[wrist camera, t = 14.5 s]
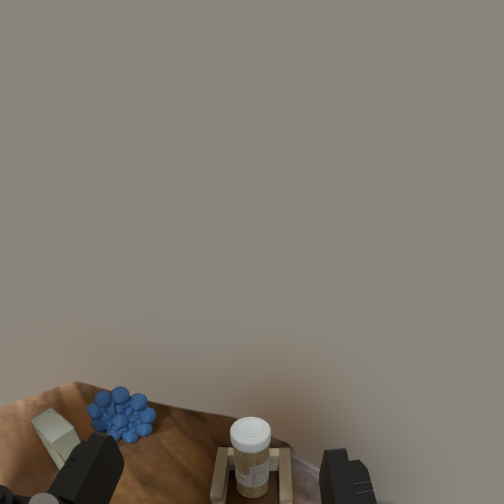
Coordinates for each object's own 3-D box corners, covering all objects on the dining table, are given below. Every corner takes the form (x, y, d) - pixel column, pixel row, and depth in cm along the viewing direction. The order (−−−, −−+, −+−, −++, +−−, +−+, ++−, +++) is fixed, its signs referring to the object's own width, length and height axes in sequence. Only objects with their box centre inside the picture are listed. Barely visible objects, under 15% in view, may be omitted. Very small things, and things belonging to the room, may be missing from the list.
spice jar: (231, 481, 35) (223, 422, 32) (260, 471, 37) (259, 410, 33) (245, 503, 31) (240, 448, 28) (275, 492, 33) (278, 434, 29)
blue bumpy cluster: (165, 423, 47) (151, 370, 44) (164, 452, 40) (147, 398, 37) (103, 423, 45) (83, 370, 42) (96, 449, 38) (71, 396, 35)
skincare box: (60, 472, 31) (27, 419, 28) (79, 459, 35) (50, 405, 32) (85, 495, 29) (49, 443, 26) (104, 479, 32) (74, 426, 29)
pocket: (213, 509, 30) (209, 496, 29) (220, 462, 39) (218, 446, 38) (290, 511, 29) (292, 498, 28) (288, 463, 38) (289, 447, 37)
